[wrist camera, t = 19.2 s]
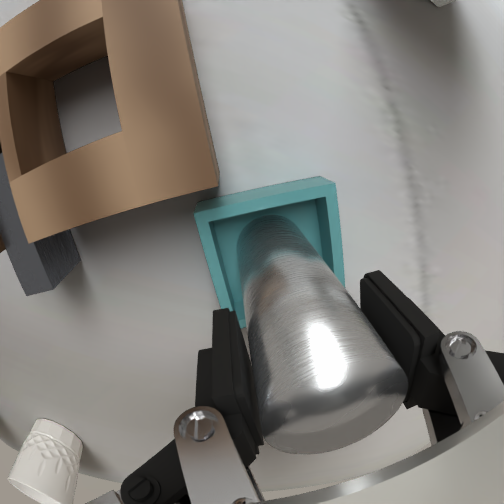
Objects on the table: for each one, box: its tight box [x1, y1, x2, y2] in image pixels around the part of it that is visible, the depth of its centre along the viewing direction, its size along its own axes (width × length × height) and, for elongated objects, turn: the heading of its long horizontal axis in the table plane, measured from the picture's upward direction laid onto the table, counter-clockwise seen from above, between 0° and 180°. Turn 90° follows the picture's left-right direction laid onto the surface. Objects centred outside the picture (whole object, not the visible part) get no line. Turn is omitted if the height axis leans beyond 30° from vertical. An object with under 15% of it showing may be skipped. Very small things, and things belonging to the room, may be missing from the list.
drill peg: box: [236, 215, 408, 454], centre depth 12 cm, size 4×4×12 cm
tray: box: [194, 176, 345, 328], centre depth 17 cm, size 7×7×2 cm
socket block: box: [0, 0, 219, 253], centre depth 11 cm, size 14×12×5 cm
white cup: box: [8, 419, 83, 504], centre depth 20 cm, size 8×8×10 cm
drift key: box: [0, 152, 81, 296], centre depth 14 cm, size 2×8×4 cm, turn 12°
